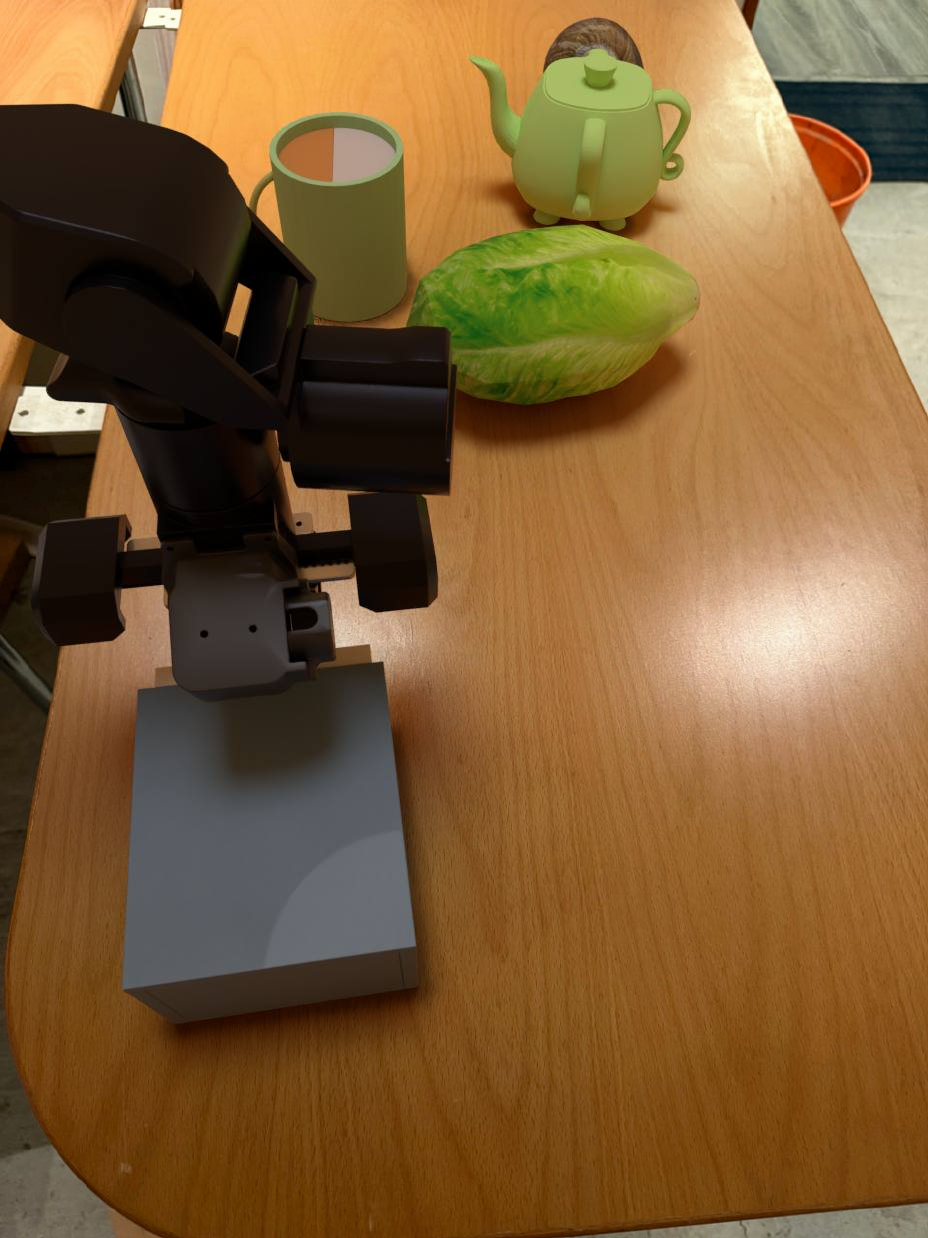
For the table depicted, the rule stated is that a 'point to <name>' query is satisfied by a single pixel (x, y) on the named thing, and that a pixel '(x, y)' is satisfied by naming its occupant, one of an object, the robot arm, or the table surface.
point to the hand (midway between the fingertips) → (268, 650)
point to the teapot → (587, 138)
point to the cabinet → (266, 850)
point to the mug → (342, 210)
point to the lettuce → (553, 311)
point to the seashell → (594, 42)
